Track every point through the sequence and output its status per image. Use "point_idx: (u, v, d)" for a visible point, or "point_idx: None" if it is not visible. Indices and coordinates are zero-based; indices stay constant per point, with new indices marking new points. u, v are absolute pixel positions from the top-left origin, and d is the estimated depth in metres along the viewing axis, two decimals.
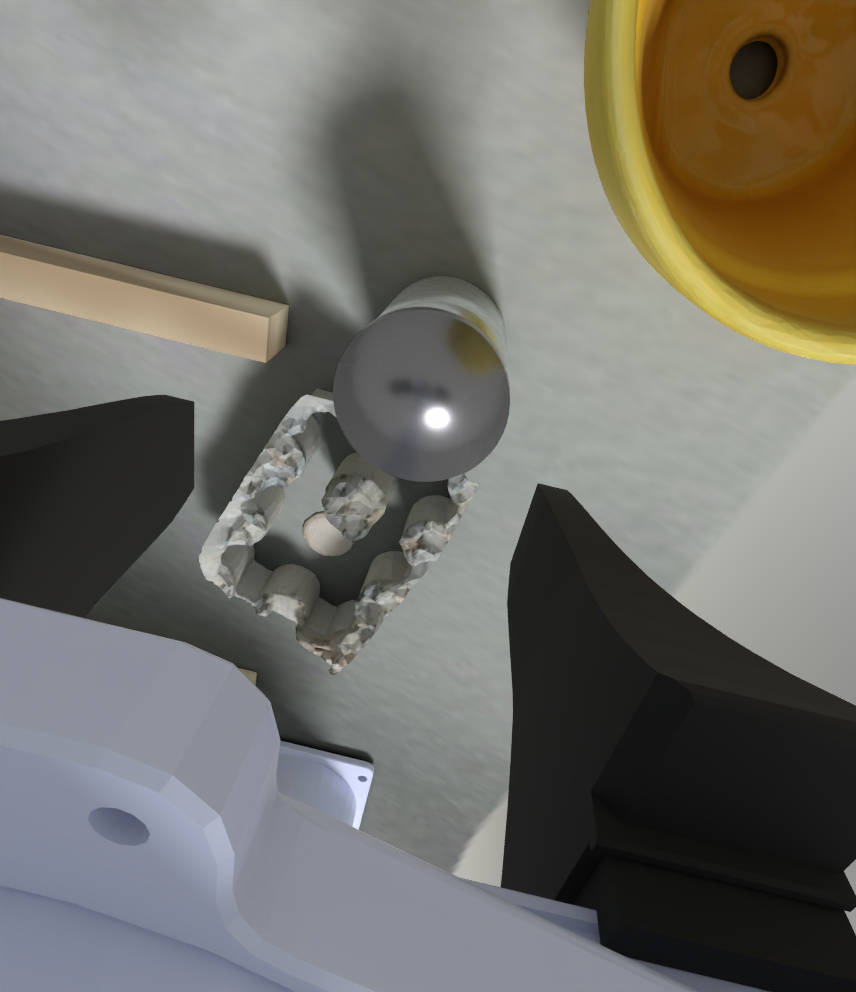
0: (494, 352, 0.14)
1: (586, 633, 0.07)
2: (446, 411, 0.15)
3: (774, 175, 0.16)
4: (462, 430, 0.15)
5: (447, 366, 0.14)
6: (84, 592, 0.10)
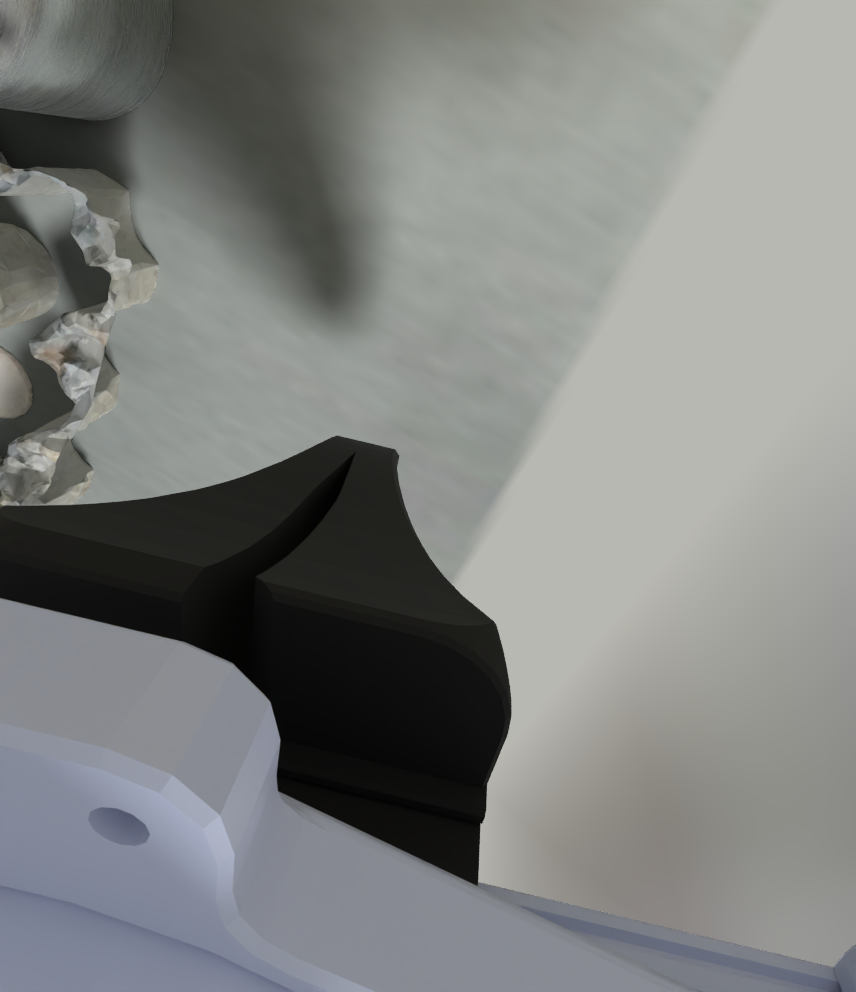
0: None
1: None
2: None
3: None
4: None
5: None
6: None
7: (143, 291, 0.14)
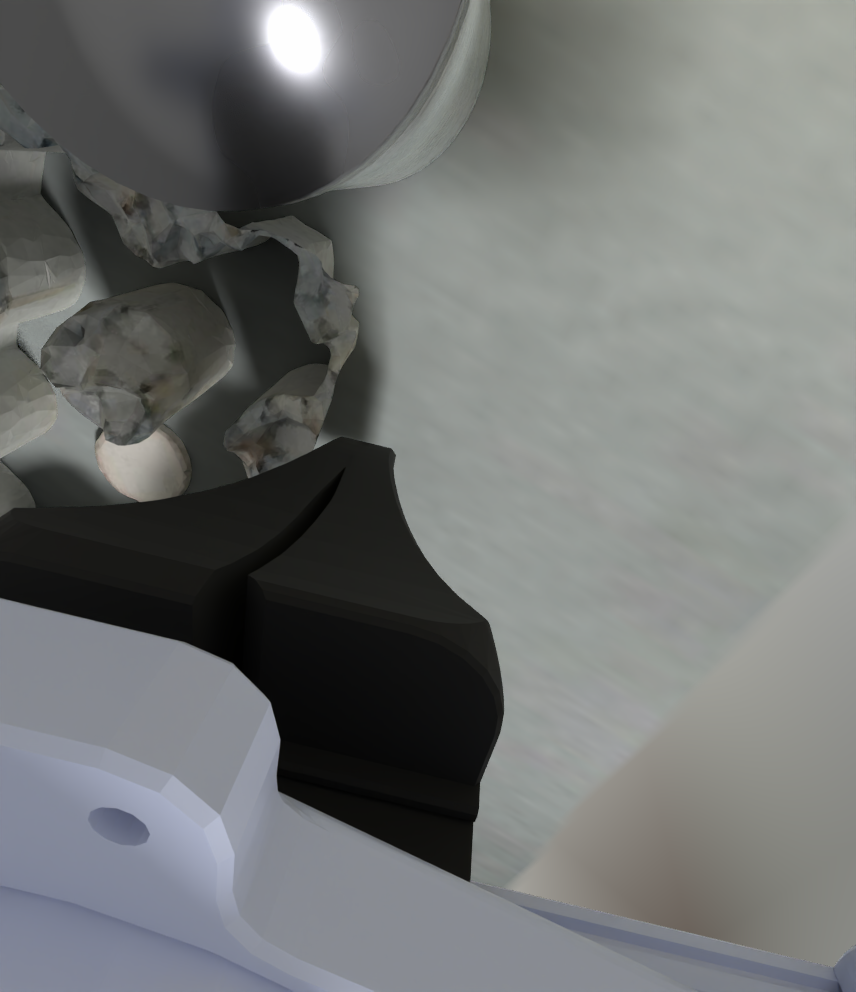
0: None
1: None
2: None
3: None
4: None
5: None
6: None
7: None
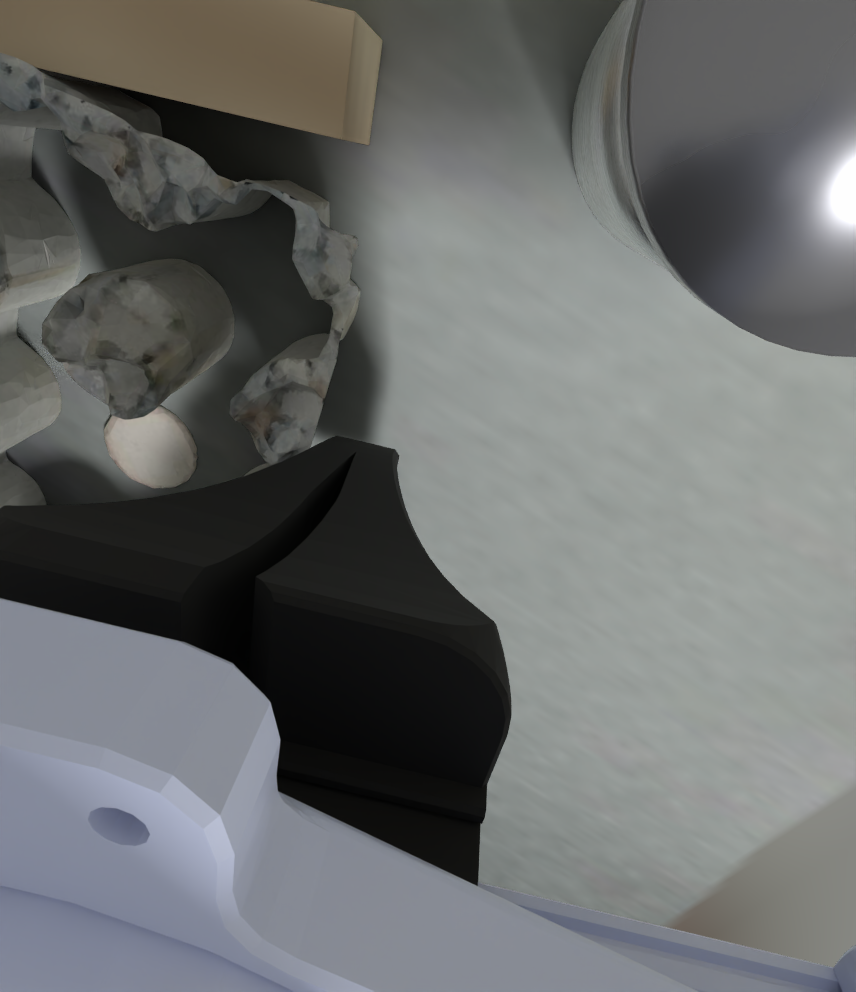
0: None
1: None
2: None
3: None
4: None
5: None
6: None
7: (345, 325, 0.11)
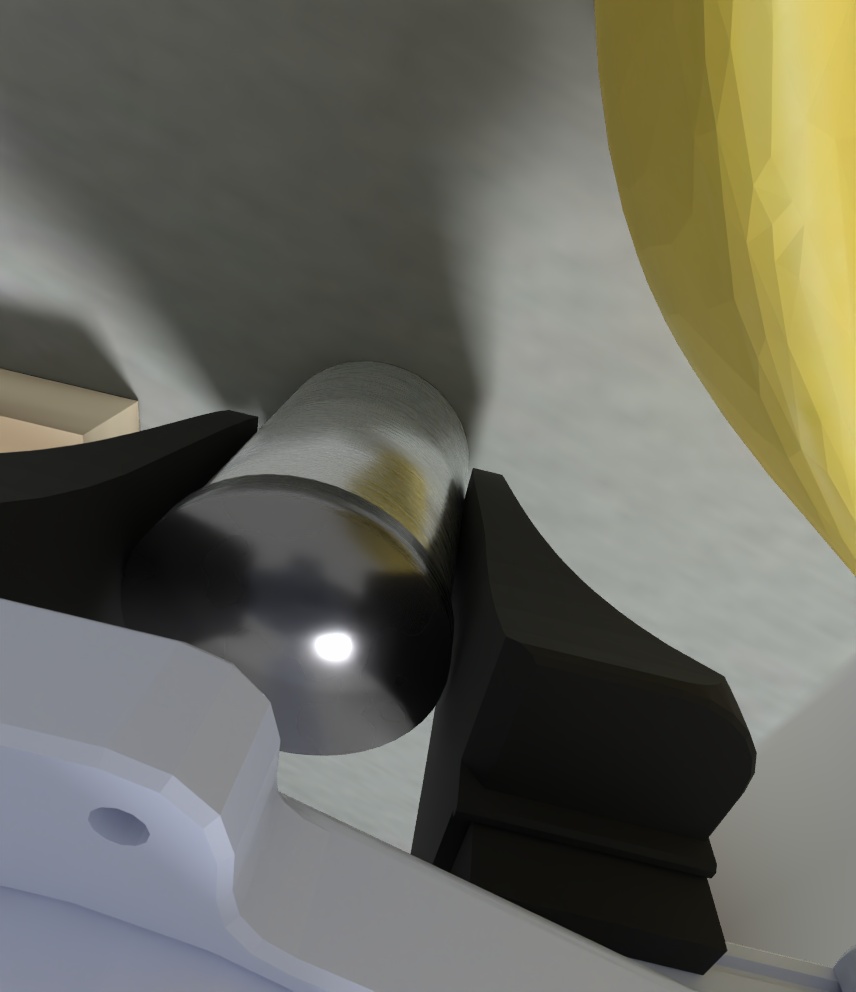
0: (415, 568, 0.07)
1: (479, 608, 0.07)
2: (334, 658, 0.08)
3: None
4: (367, 688, 0.08)
5: (326, 589, 0.07)
6: None
7: None
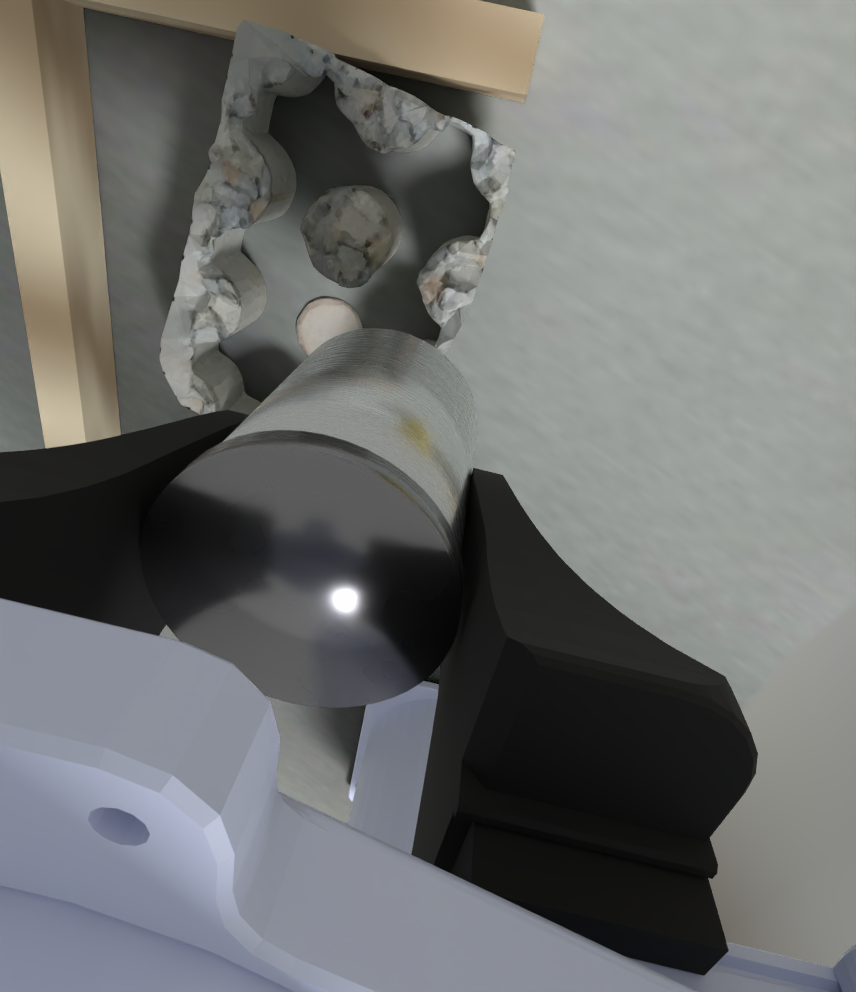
0: (438, 537, 0.07)
1: (480, 608, 0.07)
2: (345, 615, 0.08)
3: None
4: (372, 646, 0.09)
5: (349, 548, 0.08)
6: None
7: (486, 225, 0.17)
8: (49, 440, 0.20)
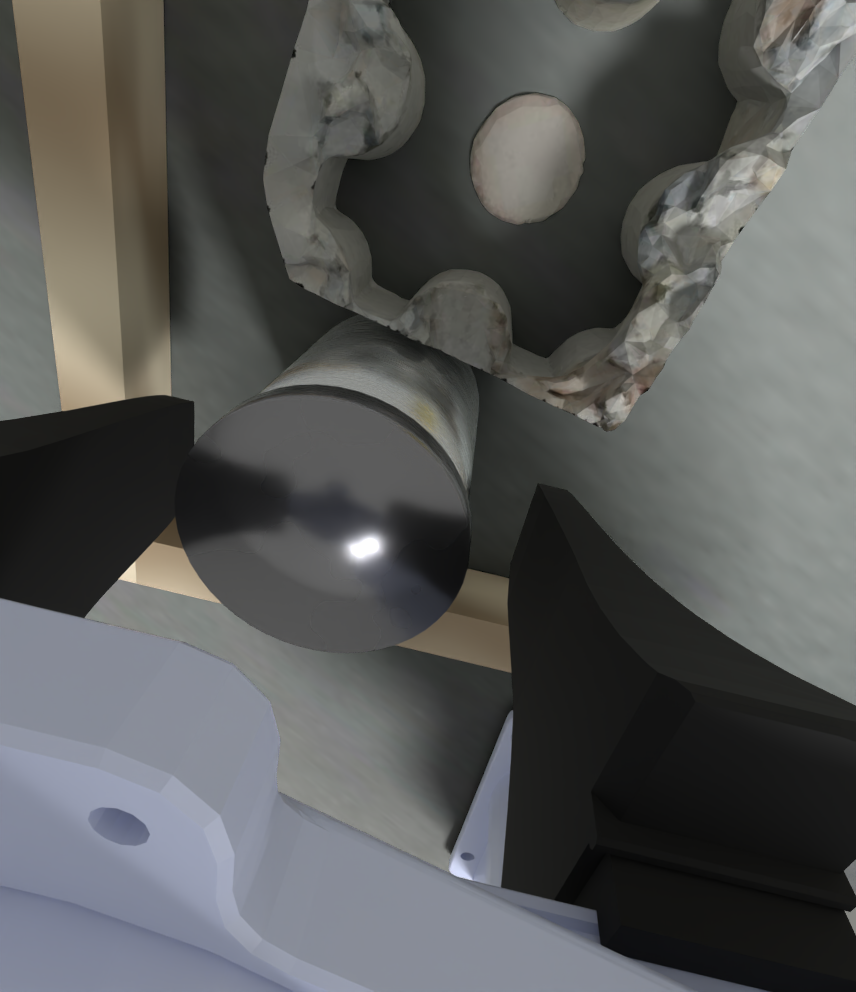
0: (455, 489, 0.08)
1: (586, 633, 0.07)
2: (362, 562, 0.09)
3: None
4: (384, 593, 0.09)
5: (372, 496, 0.08)
6: (84, 592, 0.10)
7: None
8: (62, 341, 0.12)
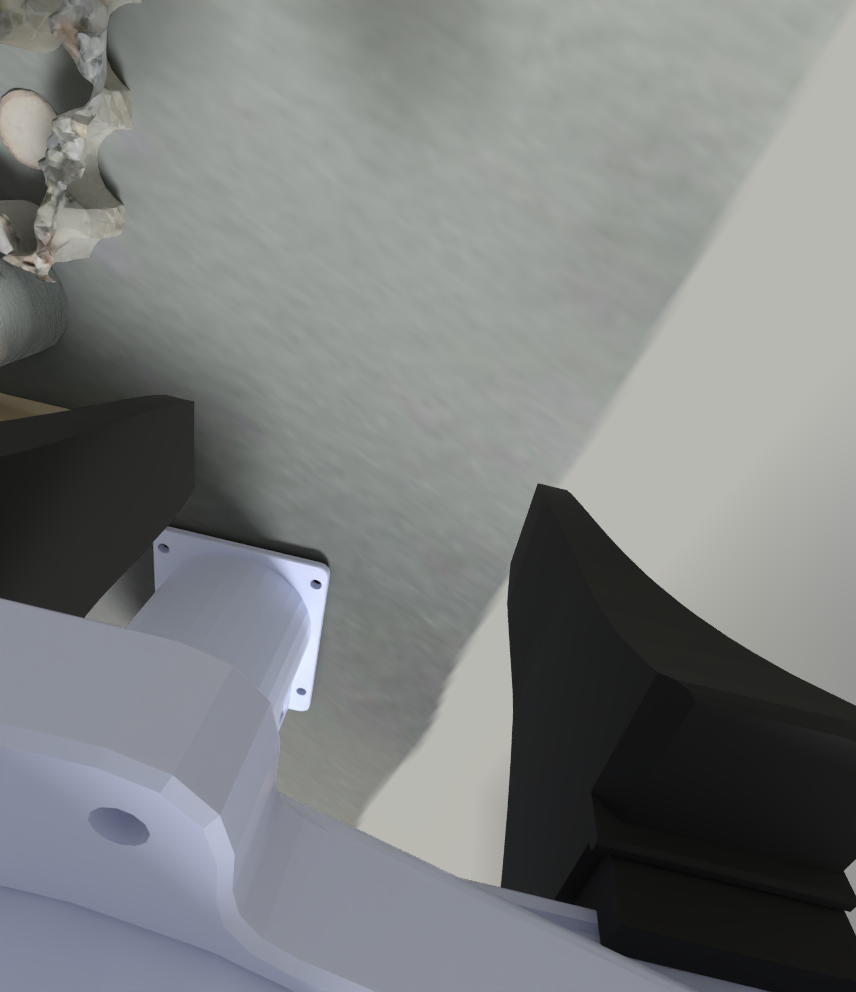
0: None
1: (586, 633, 0.07)
2: None
3: None
4: None
5: None
6: (84, 592, 0.10)
7: None
8: None
